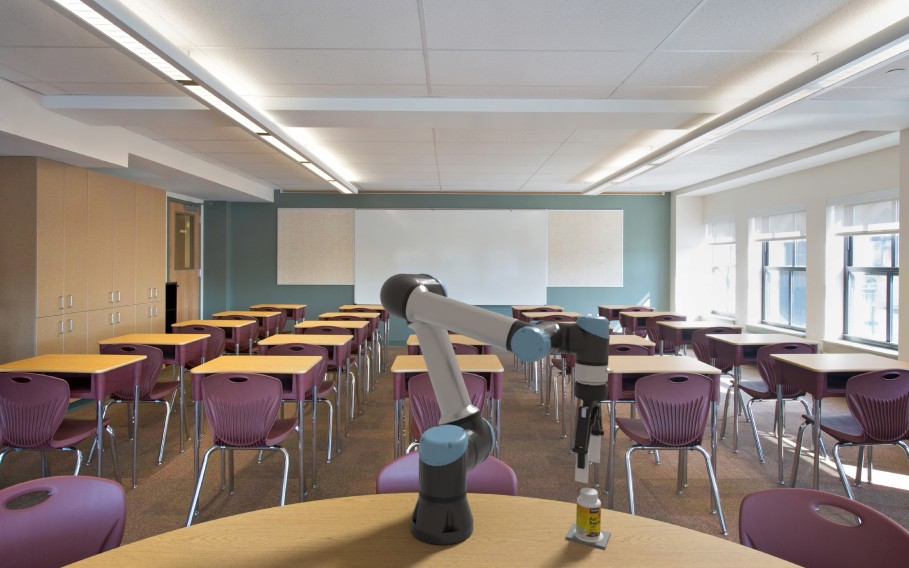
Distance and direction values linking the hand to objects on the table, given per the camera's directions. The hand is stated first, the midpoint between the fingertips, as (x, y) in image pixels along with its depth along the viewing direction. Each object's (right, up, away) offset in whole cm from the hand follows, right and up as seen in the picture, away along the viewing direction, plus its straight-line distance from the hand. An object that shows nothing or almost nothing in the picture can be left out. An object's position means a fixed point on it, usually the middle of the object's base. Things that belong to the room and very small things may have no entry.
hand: (588, 471), depth 113 cm
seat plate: (0, -16, 0) cm, 16 cm away
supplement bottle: (0, -15, 0) cm, 15 cm away
